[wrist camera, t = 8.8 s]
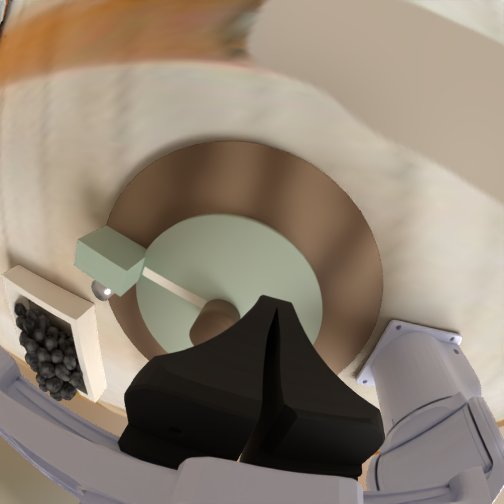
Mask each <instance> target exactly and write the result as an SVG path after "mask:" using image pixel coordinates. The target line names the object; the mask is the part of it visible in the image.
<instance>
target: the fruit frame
mask: <svg viewBox="0 0 504 504" xmlns="http://www.w3.org/2000/svg"><path fill="white" fill-rule="evenodd" d="M2 280H3V285H4V289H5V293H6V297H7V301H8V305H9V309H10V313H11V316H12V320H13V323H14V326H15V329H16V333H17V336H18V339H19V337H20V333H21V332H22V330H21V329H20V328H18V327H17V326H16V318H17V317H18V316H17V315H16V314H15V312H14V306H15V305H16V304H17V303H22V304H23V305H24V306H25V308H26V309H27V310H28V309H30V305H29V300H28V299H30V300H31V301H33V302H34V303H36V304H37V305H39V306H41V307H42V308H44V309H46V310H47V311H49V312H50V313H52V314H54V315H56V316H57V317H59V318H61V319H63V320H64V321H66V322H68V323H70V324H71V328H72V333H73V338H74V343H75V347H76V352H77V356H78V360H79V364H80V368H81V370H82V372H83V379H84V381H83V382H82V385H81V386H79V387H77V391H78V392H79V393H80V394H81V395H83V396H84V397H86V398H88V399H90V400H91V401H93V402H95V403H96V401H97V400H98V399H99V397H100V396H101V394H102V393H103V392H104V390H105V389H106V388H107V384H106V379H105V374H104V369H103V364H102V358H101V352H100V345H99V338H98V331H97V322H96V313H95V304H93V303H91V302H89V301H87V300H85V299H83V298H81V297H79V296H77V295H75V294H72V293H70V292H68V291H66V290H64V289H63V288H61V287H59V286H57V285H55V284H53V283H51V282H49V281H47V280H45V279H44V278H42V277H40V276H38V275H36V274H34V273H33V272H31V271H29V270H27V269H26V268H24V267H22V266H21V265H17V266H15V267H13V268H12V269H10V270H8V271H7V272H5V273H3V274H2ZM21 347H22V350H23V353H24V355H25V354H26V353H27V352H26V350H25V348H24V347H23V346H22V345H21Z"/></svg>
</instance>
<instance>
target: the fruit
mask: <svg viewBox="0 0 504 504" xmlns="http://www.w3.org/2000/svg"><path fill="white" fill-rule="evenodd" d="M14 312H15V314H16V315H17V316H18V317H17V318H16V326H17V327H18V328H20V329H21V330H22V332H21V333H20V337H19V341H20V345H22V346H23V347H24V348H25V350H26V352H27V353H26V354H25V360H26V362H27V363H28V364H29V365H30V367H31V369H32V370H33V371H34V372H37V375H36V380H37V382H38V383H39V387H40V389H41V390H42V391H44V392H47V391H48V390H49V391H50V396H51V397H52V398H53V399H55V400H56V401H61V400H62V398H63V399H65V400H71V399H72V398H73V397H74V396H75V394H76V393H77V394H78V395H79V396H81V395H80V393H79V392H78V391H77V387H79V386H81V385H82V382H83V381H84V379H83V372H82V370H81V368H80V364H79V360H78V356H77V352H76V347H75V343H74V338H73V337H70V338H68V337H67V335H66V333H64V332H60V333H59V330H58V329H57V328H56V327H52V326H50V325H49V324H50V322H49V320H48V318H47V316H46V314H44V313H38V312H37V310H35V309H33V308H30V309H28V310H27V309H26V308H25V306H24V305H23V304H22V303H17V304H16V305H15V306H14ZM36 325H37V326H36Z"/></svg>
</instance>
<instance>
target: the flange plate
mask: <svg viewBox="0 0 504 504" xmlns="http://www.w3.org/2000/svg"><path fill="white" fill-rule="evenodd" d="M74 265H75V266H76V267H77V268H79V269H80V270H82V271H83V272H84V273H86V274H87V275H89V276H90V277H91V278H93V279H94V280H96V281H97V282H99V283H100V284H102V285H103V286H105V287H106V288H108V289H109V290H111V291H112V292H114V293H115V294H117V295H118V296H120V297H121V296H122V295H123V294H124V293H125V292H126V291H127V290H129V289H130V288H131V287H132V286H133V285H134V284H135V283H136V294H137V301H138V306H139V309H140V312H141V315H142V318H143V320H144V322H145V324H146V326H147V328H148V329H149V331H150V333H151V334H152V336H153V337H154V338H155V340H156V341H157V342H158V343H159V344H160V345H161V346H162V348H163V349H164V350H165V351H166V352H168V353H173V352H178V351H181V350H185V349H187V348H190V347H193V346H194V345H193V344H192V342H191V340H190V337H189V332H190V329H191V327H192V325H193V324H194V322H195V320H196V319H197V317H198V315H199V313H200V312H201V310H202V308H203V307H204V305H205V304H206V303H207V302H209V301H211V300H214V299H222V300H226V301H228V302H230V303H232V304H233V305H234V306H235V307H236V308H237V309H238V311H239V313H240V316H241V318H242V317H243V316H244V315H245V314H246V313H247V312H248V311H249V310H250V309H251V308H252V307H253V306H254V305H255V303H256V302H257V301H258V299H259V297H260V296H261V295H266V296H270V297H273V298H277V299H281V300H284V301H288V302H292V304H293V306H294V308H295V311H296V313H297V316H298V318H299V320H300V322H301V325H302V327H303V329H304V331H305V333H306V335H307V336H308V338H309V340H310V342H311V343H312V345H313V344H314V342H315V340H316V338H317V336H318V333H319V330H320V327H321V322H322V297H321V291H320V286H319V283H318V280H317V277H316V274H315V272H314V270H313V268H312V266H311V264H310V263H309V261H308V260H307V258H306V257H305V255H304V254H303V253H302V251H301V250H300V249H299V248H298V247H297V246H296V245H295V244H294V243H293V242H292V241H291V240H289V239H288V238H287V237H286V236H285V235H283V234H282V233H281V232H279V231H277V230H276V229H274V228H272V227H271V226H269V225H267V224H265V223H262V222H260V221H258V220H255V219H252V218H249V217H245V216H242V215H236V214H229V213H211V214H202V215H198V216H194V217H191V218H188V219H186V220H183V221H181V222H179V223H177V224H175V225H174V226H172V227H171V228H169V229H168V230H166V231H165V232H163V233H162V234H161V235H160V236H159V237H157V238H156V239H155V240H154V241H153V243H152V244H151V245H150V246H149V247H148V249H146V248H144V247H142V246H140V245H139V244H137V243H135V242H134V241H132V240H130V239H129V238H127V237H125V236H124V235H122V234H120V233H118V232H117V231H115V230H113V229H112V228H110V227H109V226H107V225H106V226H104V227H102V228H100V229H98V230H96V231H94V232H92V233H90V234H88V235H86V236H84V237H82V238H80V239H78V242H77V249H76V256H75V263H74Z"/></svg>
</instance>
